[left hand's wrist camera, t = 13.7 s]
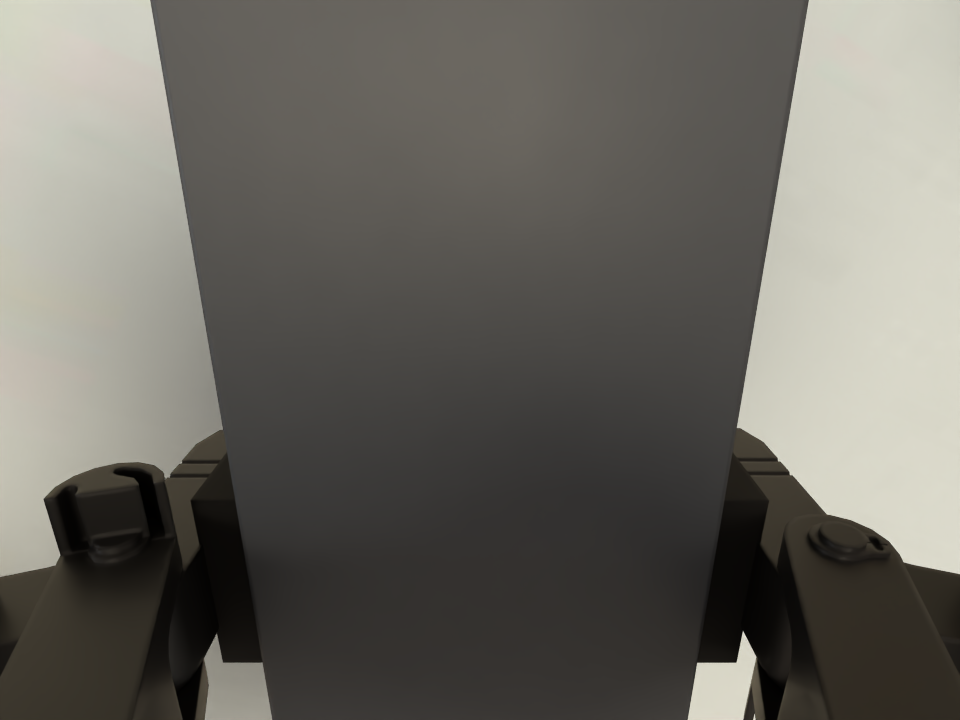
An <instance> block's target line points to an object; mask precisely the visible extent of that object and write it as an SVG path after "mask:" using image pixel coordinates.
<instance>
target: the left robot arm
mask: <svg viewBox="0 0 960 720" xmlns="http://www.w3.org/2000/svg"><path fill="white" fill-rule="evenodd" d="M170 475H171V476H170V478H167V479H166V480H165V478H164V473H163V471H161V470H160V469H159V468H157V467H156V466H154V465H150V464H145V463H139V462H134V463H117V464H112V465H108V466H103V467H98V468H94V469H92V470H89V471H86V472H84V473H81V474H79V475H76V476H73V477H72V478H70V479H68V480H67V481H65V482H63V483H61V484H60V485H58V486H56V487H55V488H54V489H53V490H52V491H51V492H50V493H49V494H48V495H47V496H46V497H45V498H44V502H45V506H46V509H47V512H48V515H49V519H50V522H51V525H52V529H53V532H54V535H55V538H56V542H57V545H58V548H59V552H60V555H61V556H60V558H59V560H58V562H57V564H56V566H52V567H48V568H43V569H38V570H33V571H28V572H23V573H18V574H13V575H8V576H3V577H0V720H204V719H205V711H206V703H207V695H208V687H209V684H208V677H207V671H206V666H205V662H204V657H205V655H206V653H207V651H208V649H209V647H210V645H211V643H212V641H213V639H214V637H215V635H216V633H217V635H218V640H219V645H220V650H221V655H222V660H223V663H257V662H263V661H262V655H261V649H260V643H259V637H258V632H257V626H256V620H255V614H254V608H253V602H252V596H251V590H250V584H249V578H248V573H247V567H246V561H245V555H244V549H243V543H242V537H241V531H240V525H239V520H238V514H237V508H236V502H235V496H234V490H233V484H232V478H231V472H230V466H229V461H228V455H227V449H226V443H225V437H224V431H223V430H219V431H218V432H216V433H214V434H213V435H211V436H209V437H208V438H206V439H204V440H203V441H201V442H199V443H198V444H196V445H195V446H194V448H193V449H192V450H191V451H190V452H189V453H188V454H187V456H186V457H185V458H184V459H183V460H182V464H179V465H178V466H177V467H176V468H175V469H174V471H173V472H172V473H171V474H170ZM743 631H744V633H745V635H746V637H747V639H748V641H749V643H750V645H751V647H752V649H753V651H754V653H755V655H756V662H755V666H754V671H753V676H752V680H751V685H750V689H749V694H748V699H747V703H746V708H745V713H744V719H743V720H753V717H754V714H755V718H756V720H960V574H956V573H951V572H946V571H941V570H936V569H930V568H925V567H920V566H915V565H911V564H907V563H904V562H903V560H902V558H901V556H900V555H899V553H898V552H897V551H896V550H895V548H894V547H893V546H892V545H891V543H890V542H889V541H888V540H886V539H885V538H883V537H882V536H880V535H879V534H877V533H876V532H875V531H873V530H872V529H869V528H867V527H865V526H863V525H860V524H858V523H856V522H854V521H851V520H847V519H843V518H839V517H835V516H831V515H827V514H826V513H825V512H824V511H823V510H822V509H821V507H820V506H819V505H818V504H817V503H816V502H815V501H814V499H813V498H812V497H811V496H810V495H809V494H808V493H807V491H806V490H805V489H804V488H803V487H802V486H801V485H800V483H799V482H798V481H797V480H796V479H795V478H794V477H793V475H790V474H789V471H788V470H787V469H786V467H785V466H784V465H783V464H782V463H781V462H778V458H777V457H776V456H775V455H774V454H773V453H772V451H771V450H770V449H769V448H768V447H767V446H766V445H765V443H764V442H762V441H761V440H759V439H757V438H756V437H754V436H752V435H750V434H749V433H747V432H745V431H744V430H742V429H740V428H737V429H736V435H735V441H734V446H733V452H732V458H731V464H730V470H729V476H728V482H727V488H726V494H725V500H724V506H723V512H722V518H721V524H720V530H719V536H718V541H717V547H716V553H715V559H714V565H713V571H712V577H711V583H710V589H709V595H708V601H707V607H706V613H705V619H704V625H703V631H702V636H701V642H700V648H699V654H698V660H697V663H736V662H737V657H738V652H739V647H740V642H741V637H742V632H743Z"/></svg>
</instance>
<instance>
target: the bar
mask: <svg viewBox="0 0 960 720" xmlns="http://www.w3.org/2000/svg"><path fill="white" fill-rule="evenodd" d="M150 1H151V7H152V12H153V18H154V24H155V30H156V36H157V42H158V48H159V54H160V60H161V66H162V71H163V77H164V83H165V89H166V95H167V101H168V107H169V113H170V119H171V125H172V130H173V136H174V142H175V148H176V154H177V160H178V166H179V172H180V178H181V183H182V189H183V195H184V201H185V207H186V213H187V219H188V225H189V231H190V237H191V242H192V248H193V254H194V260H195V266H196V272H197V278H198V284H199V290H200V295H201V301H202V307H203V313H204V319H205V325H206V331H207V337H208V343H209V349H210V354H211V360H212V366H213V372H214V378H215V384H216V390H217V396H218V402H219V408H220V413H221V419H222V425H223V431H224V437H225V443H226V449H227V455H228V461H229V466H230V472H231V478H232V484H233V490H234V496H235V502H236V508H237V514H238V520H239V525H240V531H241V537H242V543H243V549H244V555H245V561H246V567H247V573H248V578H249V584H250V590H251V596H252V602H253V608H254V614H255V620H256V626H257V632H258V637H259V643H260V649H261V655H262V661H263V667H264V673H265V679H266V685H267V691H268V696H269V702H270V708H271V714H272V720H688V714H689V708H690V702H691V696H692V690H693V684H694V678H695V672H696V666H697V660H698V654H699V648H700V642H701V636H702V631H703V625H704V619H705V613H706V607H707V601H708V595H709V589H710V583H711V577H712V571H713V565H714V559H715V553H716V547H717V541H718V536H719V530H720V524H721V518H722V512H723V506H724V500H725V494H726V488H727V482H728V476H729V470H730V464H731V458H732V452H733V446H734V441H735V435H736V429H737V423H738V417H739V411H740V405H741V399H742V393H743V387H744V381H745V375H746V369H747V363H748V357H749V351H750V346H751V340H752V334H753V328H754V322H755V316H756V310H757V304H758V298H759V292H760V286H761V280H762V274H763V268H764V262H765V257H766V251H767V245H768V239H769V233H770V227H771V221H772V215H773V209H774V203H775V197H776V191H777V185H778V179H779V173H780V167H781V162H782V156H783V150H784V144H785V138H786V132H787V126H788V120H789V114H790V108H791V102H792V96H793V90H794V84H795V78H796V72H797V67H798V61H799V55H800V49H801V43H802V37H803V31H804V25H805V19H806V13H807V7H808V1H809V0H150Z"/></svg>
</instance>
